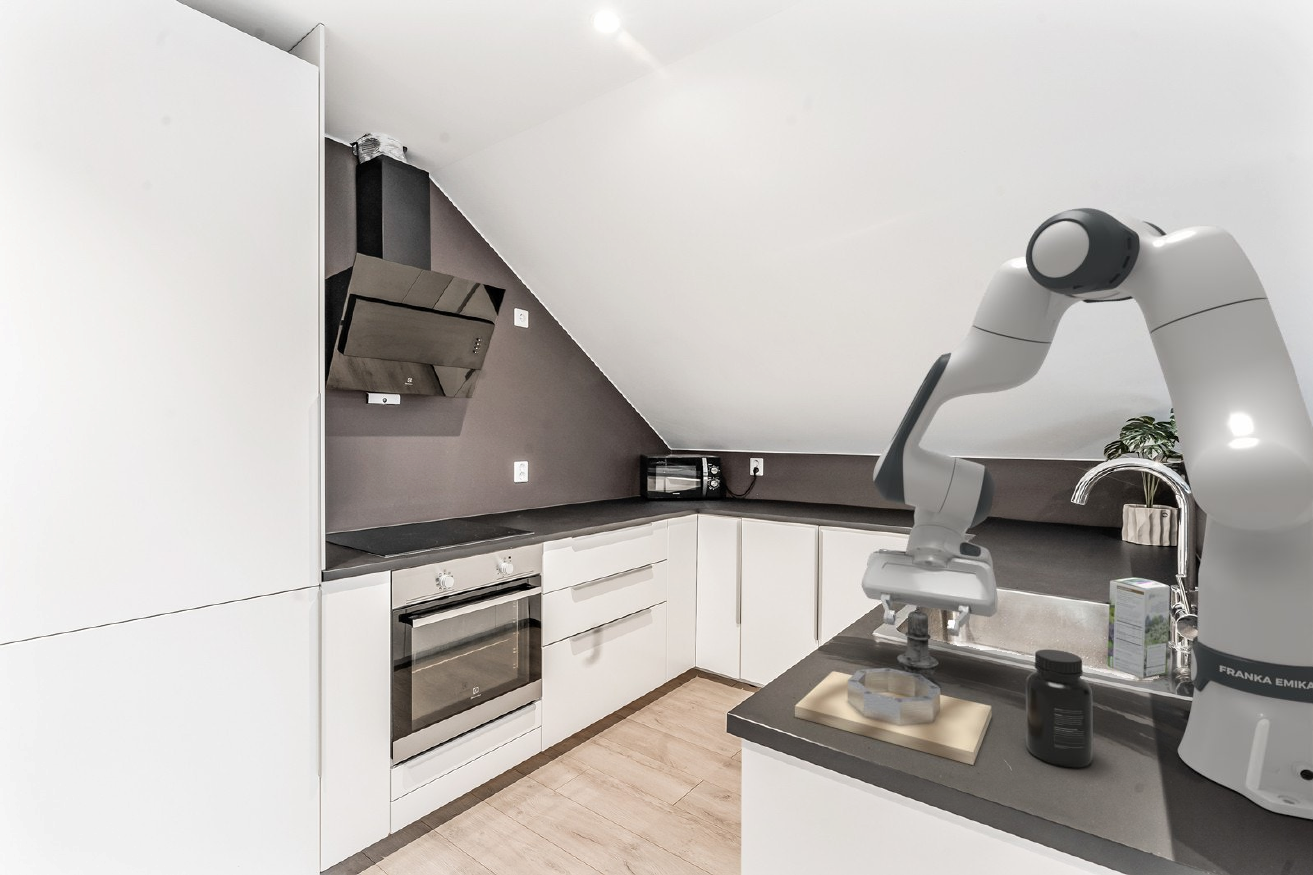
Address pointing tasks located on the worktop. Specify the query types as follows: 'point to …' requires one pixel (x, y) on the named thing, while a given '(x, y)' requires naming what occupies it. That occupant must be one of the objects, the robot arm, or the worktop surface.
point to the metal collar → (890, 709)
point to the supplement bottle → (1059, 710)
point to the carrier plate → (946, 737)
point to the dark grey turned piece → (918, 647)
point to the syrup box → (1138, 627)
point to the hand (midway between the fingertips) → (919, 628)
